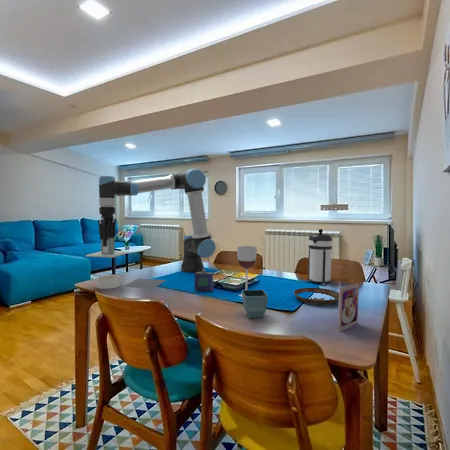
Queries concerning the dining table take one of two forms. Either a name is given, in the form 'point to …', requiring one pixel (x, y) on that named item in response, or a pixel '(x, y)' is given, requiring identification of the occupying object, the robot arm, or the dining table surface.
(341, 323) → the greeting card
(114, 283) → the bowl
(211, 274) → the flask
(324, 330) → the dining table surface
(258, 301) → the flower pot
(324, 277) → the coffee press
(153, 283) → the mat
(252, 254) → the wineglass
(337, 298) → the plant saucer
